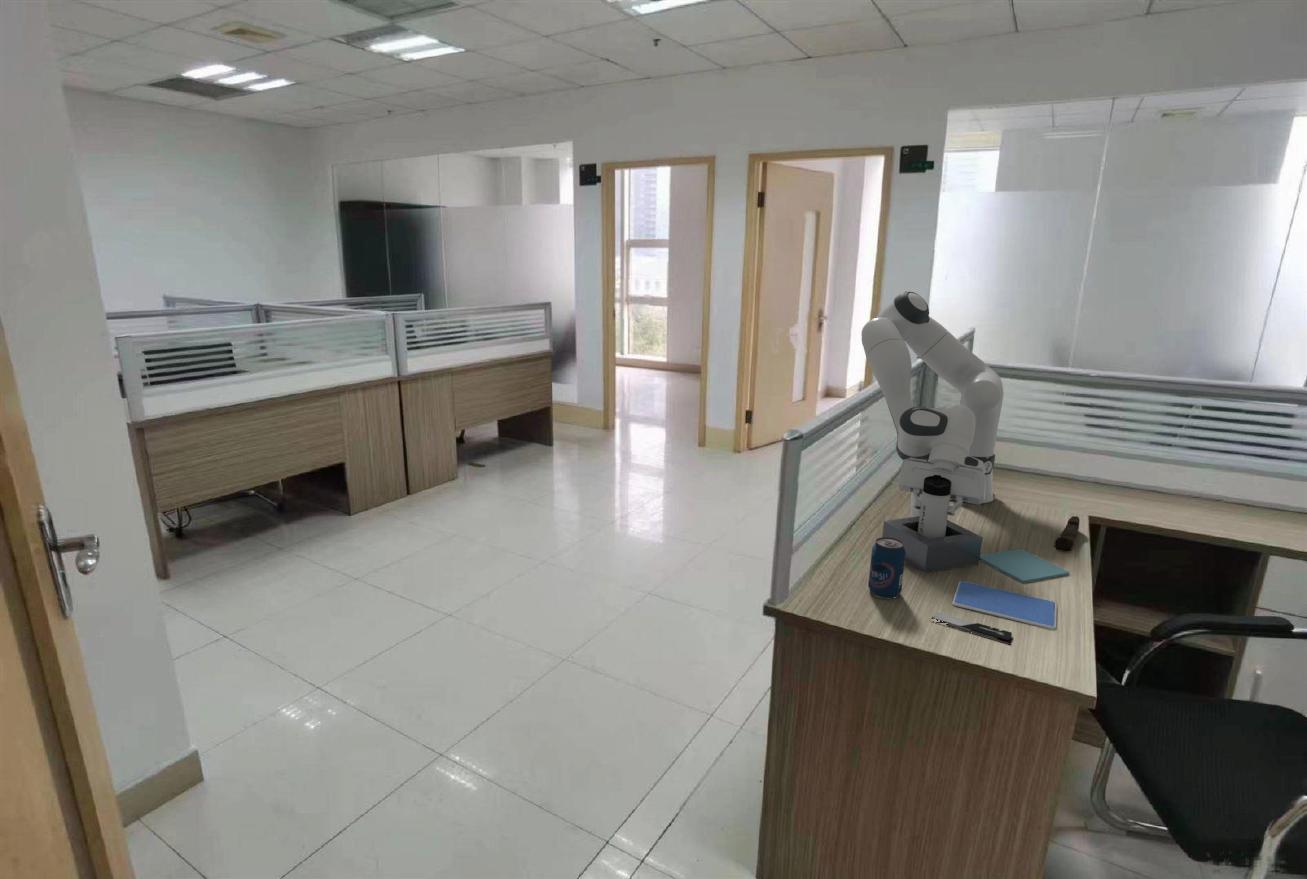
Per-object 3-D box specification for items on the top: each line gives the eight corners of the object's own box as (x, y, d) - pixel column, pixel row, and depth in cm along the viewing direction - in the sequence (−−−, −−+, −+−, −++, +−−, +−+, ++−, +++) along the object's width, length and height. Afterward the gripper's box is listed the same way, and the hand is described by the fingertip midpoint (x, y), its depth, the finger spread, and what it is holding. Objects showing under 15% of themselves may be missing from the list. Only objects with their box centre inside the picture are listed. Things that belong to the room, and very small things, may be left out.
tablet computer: (1056, 606, 146) (1057, 600, 145) (1055, 633, 135) (1056, 627, 135) (958, 584, 155) (959, 579, 155) (951, 608, 145) (951, 602, 144)
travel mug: (941, 551, 171) (951, 475, 166) (943, 562, 165) (953, 484, 160) (915, 548, 173) (923, 473, 168) (915, 558, 167) (924, 481, 162)
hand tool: (1071, 554, 171) (1074, 537, 169) (1053, 550, 173) (1056, 533, 172) (1085, 533, 184) (1088, 517, 183) (1069, 529, 187) (1071, 513, 186)
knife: (930, 618, 138) (935, 610, 141) (929, 622, 138) (934, 615, 141) (1010, 641, 130) (1014, 633, 133) (1010, 646, 130) (1013, 637, 133)
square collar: (881, 546, 174) (883, 521, 172) (932, 538, 179) (935, 513, 177) (924, 573, 159) (927, 545, 157) (978, 564, 164) (982, 537, 162)
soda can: (862, 593, 149) (867, 542, 146) (875, 582, 154) (880, 533, 151) (893, 603, 145) (899, 551, 142) (905, 591, 150) (911, 541, 147)
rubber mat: (976, 558, 167) (976, 555, 167) (1020, 550, 172) (1020, 548, 172) (1022, 583, 155) (1023, 580, 155) (1069, 574, 159) (1069, 572, 159)
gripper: (902, 449, 174) (888, 496, 168) (990, 463, 163) (978, 513, 158) (905, 462, 179) (891, 508, 173) (991, 476, 168) (979, 525, 162)
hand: (933, 511), depth 165 cm, fingers closed on travel mug, 6 cm apart
